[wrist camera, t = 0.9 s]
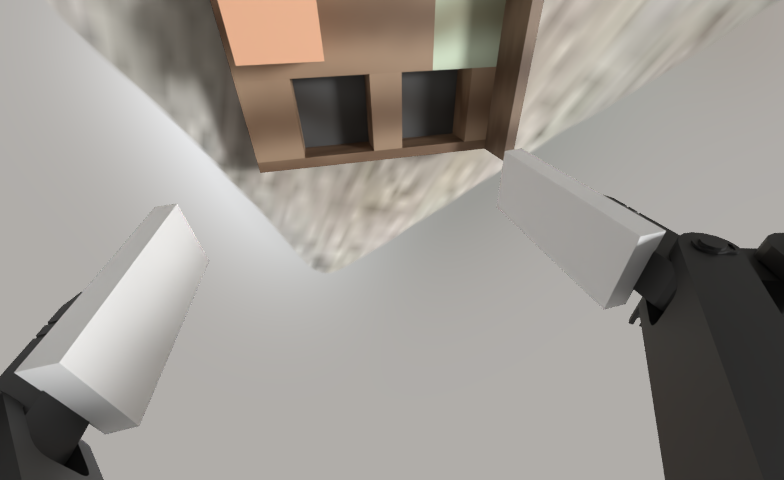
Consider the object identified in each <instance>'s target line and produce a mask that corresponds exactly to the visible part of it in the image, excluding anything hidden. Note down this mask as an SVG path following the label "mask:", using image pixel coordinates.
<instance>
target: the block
mask: <svg viewBox="0 0 784 480" xmlns="http://www.w3.org/2000/svg"><path fill="white" fill-rule="evenodd" d="M217 1H218V4H219V8H220V11H221V15H222V18H223V22H224V25H225V29H226V33H227V36H228V40H229V43H230V47H231V50H232V54H233V57H234V61H235V65H236V66H243V65H262V64H282V63H302V62H321V61H324V54H323V47H322V39H321V32H320V24H319V17H318V10H317V2H316V0H217Z"/></svg>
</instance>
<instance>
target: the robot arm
mask: <svg viewBox="0 0 784 480" xmlns="http://www.w3.org/2000/svg"><path fill="white" fill-rule="evenodd" d="M497 208H498V209H499V210H500V211H501V212H502V213H503V214H504V215H506V216H507V217H508V218H509V219H510V220H511V221H512V222H513V223H514V224H515V225H516V226H517V227H518V228H519V229H520V230H522V232H523V233H524V234H525V235H526V236H527V237H529V238H530V239H531V240H532V241H533V242H534V243H535V244H536V245H537V246H538V247H539V248H540V249H541V250H542V251H543V252H544V253H545V254H546V255H548V256H549V257H550V258H551V259H552V260H553V261H554V262H555V263H556V264H557V265H558V266H559V267H560V268H561V269H562V270H563V271H564V272H565V273H566V274H567V275H568V276H569V277H571V278H572V279H573V280H574V281H575V282H576V283H577V284H578V285H579V286H580V287H581V288H582V289H583V290H584V291H585V292H586V293H587V294H588V295H589V296H590V297H591V298H592V299H593V300H595V301H596V302H597V303H598V304H599V305H600V306H601V307H602V308H603V309H607V308H611V307H615V306H619V305H623V304H626V302H627V300H628V298H629V297H630V295H631V293H632V291H633V290H635V291H637V292H638V293H639V294H640V295H641V296H643V297H642V299H641V300H640V302H639V304H638V305H637V307H636V309H635V310H634V312H633V314H632V316H631V317H630V319H629V323H630V324H634V322H635V320H636V319H637V318H638V317H640V320H641V323H640V325H639V326H641V327H642V333H643V339H644V346H645V352H646V358H647V365H648V371H649V378H650V384H651V391H652V397H653V404H654V410H655V417H656V423H657V430H658V436H659V443H660V449H661V456H662V462H663V468H664V475H665V480H784V233H774V234H771V235H769V236H768V237H767V238H766V239H765V240H764V241H763V243H762V244H761V245H760V246H759V248H758V249H747V248H746V249H745V248H739V247H738V246H736V245H735V244H733V243H731V242H729V241H727V240H725V239H722V238H719V237H717V236H713V235H708V234H704V233H694V232H691V233H684V234H682V235H678V234H676V233H675V232H673V231H671V230H669V229H667V228H666V227H664V226H662V225H660V224H659V223H657V222H655V221H653V220H651V219H649V218H648V217H646V216H644V215H642V214H641V213H639V214H638V213H637V211H635V210H634V209H632V208H630V207H627V206H626V205H625V204H623V203H621V202H619V201H617V200H616V199H614V198H611V197H608V196H605V195H602V194H601V193H599V192H597V191H595V190H594V189H592V188H590V187H588V186H587V185H585V184H583V183H581V182H579V181H577V180H576V179H574V178H572V177H570V176H569V175H567V174H565V173H564V172H562V171H560V170H558V169H557V168H555V167H553V166H551V165H550V164H548V163H546V162H544V161H543V160H541V159H539V158H537V157H536V156H534V155H532V154H530V153H529V152H527V151H525V150H523V149H521V148H520V149H514V150H508V151H505V153H504V160H503V167H502V173H501V180H500V187H499V193H498V201H497ZM208 262H209V259H208V258H207V256H206V254H205V252H204V250H203V249H202V247H201V245H200V243H199V241H198V240H197V238H196V236H195V234H194V233H193V231H192V229H191V227H190V225H189V224H188V222H187V220H186V219H185V216H184V215H183V213H182V211H181V209H180V208H179V206H178V204H172V205H165V206H159V207H155V208H154V209H153V210H152V211H151V212H150V213H149V215H148V216H147V217H146V218H145V219H144V220H143V222H142V223H141V224H140V225H139V226H138V228H137V229H136V230H135V231H134V232H133V233H132V235H131V236H130V237H129V238H128V239H127V241H126V242H125V243H124V244H123V245H122V246H121V248H120V249H119V250H118V251H117V252H116V253H115V255H114V256H113V257H112V258H111V259H110V260H109V262H108V263H107V264H106V265H105V266H104V267H103V269H102V270H101V271H100V272H99V274H97V276H96V277H95V278H94V279H93V280H92V282H91V283H90V284H89V285H88V286H87V287H86V289H85V290H84V291H83V292H80V293H79V294H78V295H76V296H75V297H74V298H73V299H71V300H70V301H69V302H67V303H66V304H64V305H63V306H62V307H61V308H60V309H59V310H58V311H57V312H56V314H55V315H54V316H53V317H52V318H51V319H50V321H48V325H46V326H44V327H43V328H42V329H41V331H40V332H39V333H38V334H37V335H36V336H37V338H36V339H33V340H32V341H31V342H30V343H29V344H28V345H27V346H26V348H25V349H24V350H23V351H22V352H21V353H20V354H19V356H18V357H17V358H16V359H15V360H14V361H13V362H12V363H11V365H10V366H9V367H8V368H7V369H6V370H5V371H4V373H3V374H2V375H1V376H0V480H104V479H103V477H102V475H101V472H100V470H99V467H98V465H97V463H96V461H95V458H94V456H93V453H92V451H91V448H90V446H89V445H88V444H87V443H85V442H84V441H83V440H81V437H82V435H83V433H84V432H85V430H86V428H87V426H88V424H91V425H92V426H93V427H95V428H97V429H98V430H99V431H101V432H102V433H104V434H109V433H113V432H117V431H120V430H125V429H129V428H133V427H136V426H139V425H140V423H141V421H142V418H143V416H144V414H145V411H146V409H147V407H148V404H149V402H150V399H151V397H152V395H153V392H154V390H155V387H156V385H157V383H158V380H159V378H160V376H161V373H162V371H163V368H164V366H165V364H166V362H167V359H168V357H169V354H170V352H171V350H172V348H173V345H174V343H175V340H176V338H177V336H178V333H179V331H180V328H181V326H182V324H183V322H184V319H185V317H186V314H187V312H188V310H189V307H190V305H191V303H192V300H193V298H194V296H195V293H196V291H197V289H198V286H199V284H200V281H201V279H202V277H203V274H204V272H205V270H206V267H207V265H208Z"/></svg>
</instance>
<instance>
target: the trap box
mask: <svg viewBox="0 0 784 480" xmlns="http://www.w3.org/2000/svg"><path fill="white" fill-rule="evenodd" d="M210 2H211V5H212V9H213V12H214V15H215V19H216V22H217V26H218V29H219V33H220V36H221V39H222V43H223V46H224V50H225V53H226V57H227V60H228V63H229V67H230V70H231V74H232V77H233V80H234V84H235V87H236V91H237V94H238V98H239V101H240V104H241V108H242V111H243V115H244V118H245V122H246V125H247V128H248V132H249V135H250V139H251V142H252V146H253V149H254V152H255V156H256V159H257V163H258V166H259V169H260V173H263V172H272V171H281V170H290V169H300V168H309V167H318V166H327V165H336V164H346V163H355V162H364V161H373V160H382V159H392V158H401V157H410V156H419V155H428V154H438V153H447V152H456V151H465V150H474V149H486V150H487V151H489V152H491V153H492V154H494V155H495V156H497V157H498V158H500V159H501V160H504V153H505V151H508V150H514V146H515V141H516V136H517V131H518V126H519V121H520V116H521V111H522V106H523V101H524V96H525V91H526V87H527V82H528V77H529V72H530V67H531V62H532V57H533V52H534V47H535V42H536V37H537V32H538V27H539V22H540V17H541V12H542V7H543V3H544V0H316V2H317V10H318V17H319V24H320V32H321V39H322V47H323V54H324V61H321V62H302V63H282V64H262V65H243V66H236V65H235V61H234V57H233V54H232V50H231V47H230V43H229V40H228V36H227V33H226V29H225V25H224V22H223V18H222V15H221V11H220V8H219V4H218V1H217V0H210Z"/></svg>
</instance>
